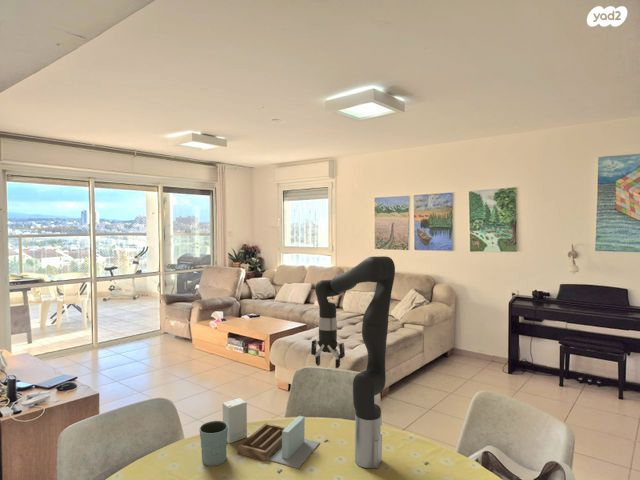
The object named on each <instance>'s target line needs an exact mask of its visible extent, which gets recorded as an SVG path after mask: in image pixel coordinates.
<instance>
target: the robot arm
mask: <svg viewBox="0 0 640 480" xmlns="http://www.w3.org/2000/svg"><path fill="white" fill-rule="evenodd" d="M395 274H396V265H395V262H394V260H393V259H392V258H391V257H389V256H387V255H386V256H383V255H382V256H369V257H367V258H365V259H363V260H362V261H361V262H359V263H358V264H357V265H356V266H354V267H352V268H351V269H349V270H347V271H345V272H342V273H340V274H337V275H335V276H333V277H332V278H331V279H326V280H325V279H323V280H318V281H317V283H316V285H315V289H314V291H315V296H316V300H317V304H318V307H319V310H318V311H319V313H318V314H319V318H318V319H319V320H318V340H317V339H313V340H312V341H311V351H310V354H311V355H312V356H314V357H315V359H314V360H315V361H314V362H315V364H316V366H317V367H319V366H320V365H321V354H322V353H328V354H331V355H332V356H333V357H334V358H335V364H334V365H335V369H338V368H340V366H341V359H343V358H345V356H346V353H345V352H346V351H345V343H344V342H338V322H337V305H336V303H335V302H333V301H332V302H331V301H329V300H328V299H329V298H330V297H331V298H332V297H337V296H339V295H341V294H342V293H344V292H346V291H349V290H353V289H354V288H355V287H356V286H357V285H358V284H361V283H376V284H375V285H376V286H375V292H374V295H373V297H372V299H371V301H370V302H369V304H368V306H367V308H366V310H365V312H364V314H363V317H362V323H361V325H362V327H361V337H362V340H363V343H364V345H365V348H366V350H367V365H366V370H364V371H360V372H359V373H357V374H356V375H355V376H354V378H353V382H352V399H353V400H352V401H353V402H352V403H353V404H352V405H353V408H354V411H355V414H354V415H355V419H354V420H355V422H354V423H355V425H354V428H355V430H354V431H355V433H354V436H355V437H354V461H355V462H354V463H355V464H356V465H357V466H359V467H361V468H365V469H379V466H380V465H381V462H382V461H383V435H382V434H381V431H382V430H381V429H382V423H381V422H382V421H381V420H382V408H381V407H380V405H379V404H376V403H375V396H377V395H378V394H380V393H382V392H383V391H384V389H385V387H386V376H387V375H386V354H387V339H388V331H389V330H388V329H389V318H390V317H389V314H390V306H391V297H392V292H393V286H394V282H395ZM317 346H319V348H318V350H317ZM337 348H338V349H339V350H338V349H337Z"/></svg>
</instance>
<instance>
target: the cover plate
mask: <svg viewBox="0 0 640 480" xmlns="http://www.w3.org/2000/svg"><path fill="white" fill-rule="evenodd" d="M305 418H306V417H305V416H301V415H298V416H297V417H296V418H295V419H294V420H292V421H291V422H290V423H289V424H288V425H287V426H286V427H285V429H284V430H283V431H282V446H281V447H282V458H284V459H289V458H290V457H291V456H292V455H293V453H294V452H295V451H296V450H297V449H298V448H299V447H300V446H301V445H302V444H303V443H304V439H305Z"/></svg>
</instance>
